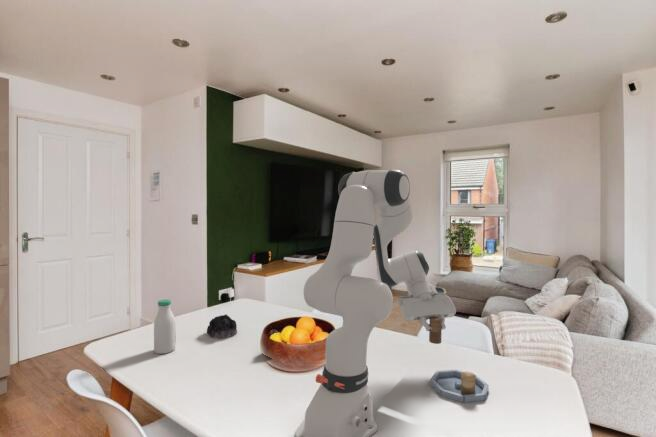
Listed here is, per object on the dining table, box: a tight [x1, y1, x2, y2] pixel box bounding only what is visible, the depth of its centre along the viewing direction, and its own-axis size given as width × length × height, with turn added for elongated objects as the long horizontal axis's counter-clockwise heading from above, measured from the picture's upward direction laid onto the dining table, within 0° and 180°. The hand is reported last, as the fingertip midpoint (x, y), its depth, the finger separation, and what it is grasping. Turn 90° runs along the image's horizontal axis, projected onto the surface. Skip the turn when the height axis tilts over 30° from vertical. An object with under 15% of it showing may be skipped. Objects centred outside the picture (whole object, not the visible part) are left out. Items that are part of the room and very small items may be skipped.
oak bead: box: [461, 371, 477, 395], centre depth 103 cm, size 4×4×6 cm
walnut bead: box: [428, 317, 442, 345], centre depth 119 cm, size 4×4×8 cm
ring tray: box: [429, 369, 489, 403], centre depth 107 cm, size 16×16×3 cm
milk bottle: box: [153, 299, 177, 355], centre depth 136 cm, size 8×8×20 cm
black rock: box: [206, 314, 238, 340], centre depth 155 cm, size 13×14×10 cm
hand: (436, 329), depth 119 cm, fingers closed on walnut bead, 4 cm apart
